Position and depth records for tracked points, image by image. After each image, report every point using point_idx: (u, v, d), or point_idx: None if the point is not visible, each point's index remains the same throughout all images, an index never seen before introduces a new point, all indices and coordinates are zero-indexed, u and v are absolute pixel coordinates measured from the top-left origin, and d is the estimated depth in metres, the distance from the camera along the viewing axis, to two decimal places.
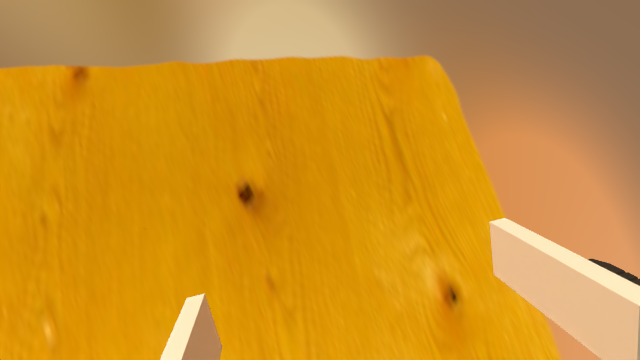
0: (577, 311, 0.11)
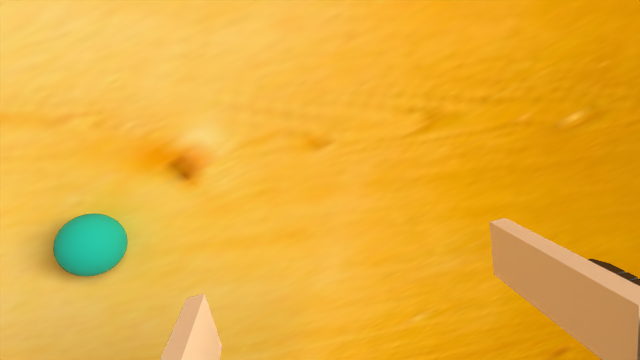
0: (577, 311, 0.11)
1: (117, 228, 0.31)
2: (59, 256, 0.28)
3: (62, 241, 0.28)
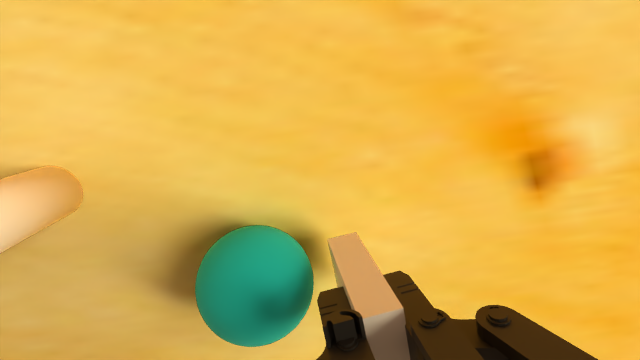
0: None
1: (203, 314, 0.15)
2: None
3: None
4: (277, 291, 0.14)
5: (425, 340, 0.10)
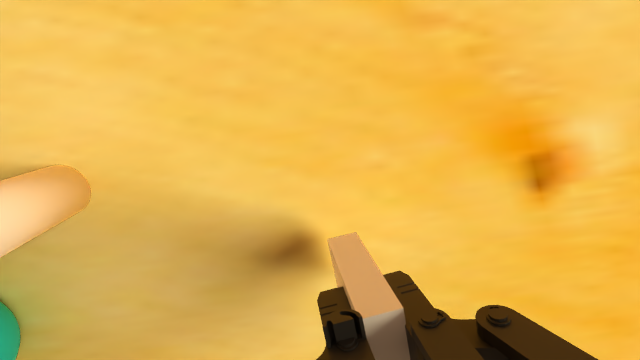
0: None
1: None
2: None
3: None
4: None
5: (425, 340, 0.10)
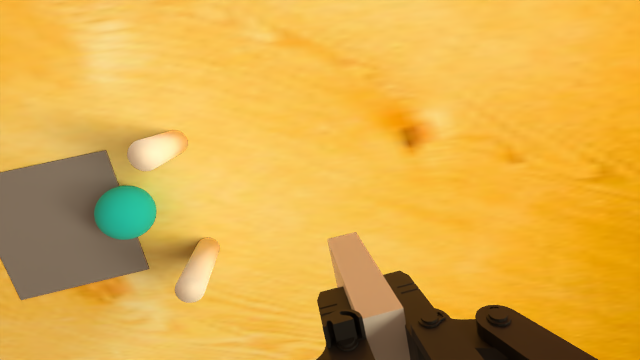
0: None
1: (115, 221, 0.32)
2: None
3: None
4: (149, 201, 0.34)
5: (425, 340, 0.10)
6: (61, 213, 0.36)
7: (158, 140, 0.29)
